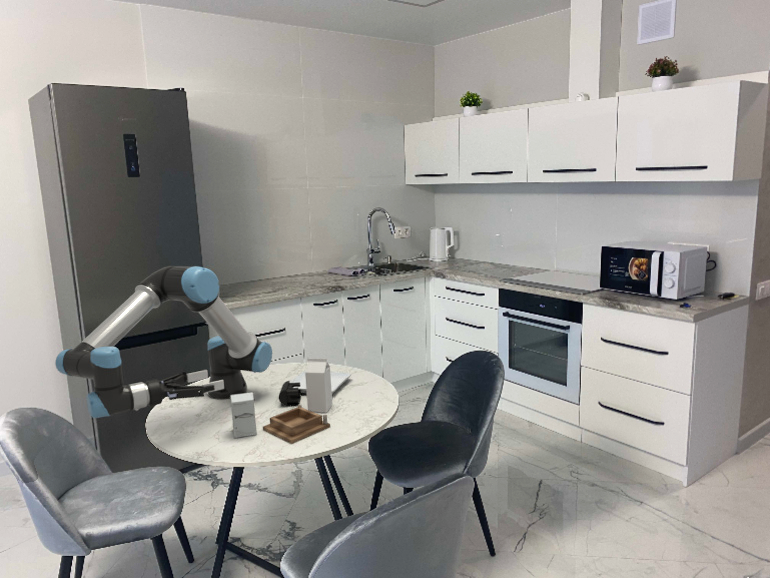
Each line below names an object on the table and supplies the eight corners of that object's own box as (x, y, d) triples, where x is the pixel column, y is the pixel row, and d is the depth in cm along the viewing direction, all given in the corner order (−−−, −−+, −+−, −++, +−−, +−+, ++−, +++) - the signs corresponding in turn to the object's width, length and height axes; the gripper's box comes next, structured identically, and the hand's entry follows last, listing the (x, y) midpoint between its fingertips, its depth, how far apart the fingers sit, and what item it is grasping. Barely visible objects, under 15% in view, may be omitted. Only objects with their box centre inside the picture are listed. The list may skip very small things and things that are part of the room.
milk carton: (326, 413, 207) (323, 362, 204) (307, 412, 209) (304, 361, 205) (332, 405, 214) (329, 355, 210) (314, 404, 216) (310, 355, 212)
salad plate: (333, 399, 221) (332, 390, 220) (282, 395, 227) (282, 386, 226) (353, 380, 240) (352, 372, 240) (306, 376, 247) (305, 369, 246)
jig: (262, 429, 195) (261, 418, 195) (301, 414, 207) (300, 403, 206) (291, 443, 184) (290, 431, 184) (330, 427, 195) (329, 415, 195)
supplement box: (234, 439, 190) (230, 402, 187) (233, 429, 197) (229, 394, 194) (257, 435, 192) (254, 399, 189) (255, 426, 199) (252, 391, 196)
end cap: (282, 397, 224) (281, 380, 223) (301, 396, 224) (300, 379, 223) (279, 407, 214) (277, 390, 213) (298, 406, 214) (297, 389, 213)
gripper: (135, 395, 183) (202, 381, 196) (159, 418, 163) (231, 400, 176) (133, 372, 182) (200, 359, 194) (157, 392, 162) (229, 376, 175)
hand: (215, 379), depth 185 cm, fingers open, 13 cm apart
